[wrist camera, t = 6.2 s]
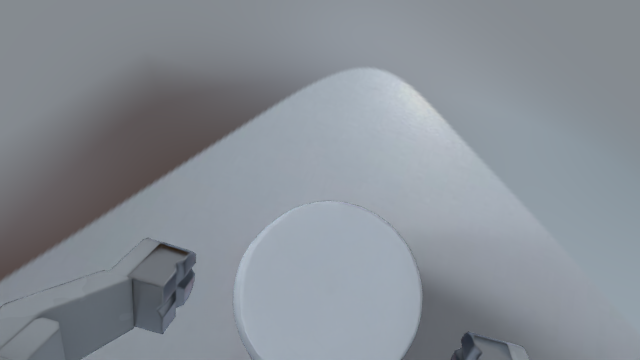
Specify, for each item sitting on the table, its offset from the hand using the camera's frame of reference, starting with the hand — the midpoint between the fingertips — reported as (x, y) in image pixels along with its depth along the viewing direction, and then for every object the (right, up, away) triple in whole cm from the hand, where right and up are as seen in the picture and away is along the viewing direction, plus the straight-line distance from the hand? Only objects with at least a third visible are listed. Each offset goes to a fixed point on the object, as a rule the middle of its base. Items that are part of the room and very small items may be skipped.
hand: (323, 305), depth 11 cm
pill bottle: (0, -1, +6) cm, 6 cm away
